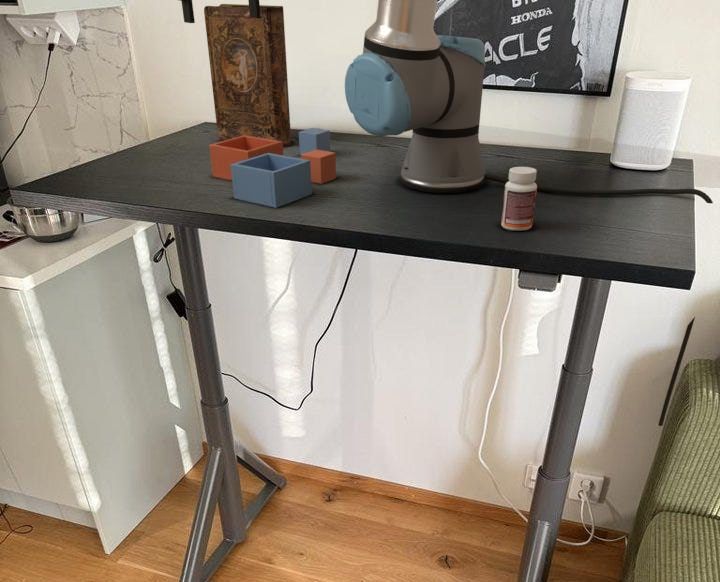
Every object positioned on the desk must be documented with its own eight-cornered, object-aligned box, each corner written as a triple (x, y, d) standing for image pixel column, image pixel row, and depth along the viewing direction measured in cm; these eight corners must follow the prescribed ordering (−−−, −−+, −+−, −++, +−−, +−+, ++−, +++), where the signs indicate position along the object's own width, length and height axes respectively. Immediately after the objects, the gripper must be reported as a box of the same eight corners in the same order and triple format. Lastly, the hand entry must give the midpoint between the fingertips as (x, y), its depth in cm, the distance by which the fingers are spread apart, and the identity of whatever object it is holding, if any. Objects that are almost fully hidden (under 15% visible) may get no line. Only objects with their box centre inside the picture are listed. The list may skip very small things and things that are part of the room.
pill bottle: (537, 229, 112) (545, 172, 107) (510, 233, 111) (517, 175, 105) (522, 220, 115) (529, 164, 110) (495, 223, 114) (501, 167, 109)
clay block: (336, 178, 135) (335, 152, 133) (321, 184, 133) (320, 157, 130) (317, 174, 138) (316, 149, 135) (302, 180, 135) (300, 154, 132)
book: (295, 142, 158) (287, 6, 143) (281, 148, 154) (272, 8, 139) (232, 135, 164) (219, 3, 149) (218, 140, 160) (202, 5, 145)
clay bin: (284, 173, 139) (282, 141, 135) (250, 184, 133) (247, 151, 129) (247, 165, 143) (244, 134, 140) (212, 176, 137) (209, 144, 134)
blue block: (330, 154, 150) (329, 130, 147) (317, 158, 147) (316, 134, 144) (313, 151, 152) (312, 127, 149) (299, 155, 149) (298, 131, 147)
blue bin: (312, 194, 128) (310, 160, 124) (276, 208, 121) (273, 172, 118) (270, 185, 132) (268, 152, 129) (234, 198, 126) (230, 164, 122)
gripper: (260, -128, 129) (270, 14, 142) (126, -132, 117) (151, 23, 130) (282, -131, 124) (291, 16, 137) (146, -135, 112) (169, 26, 125)
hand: (223, 20), depth 133 cm, fingers open, 13 cm apart
